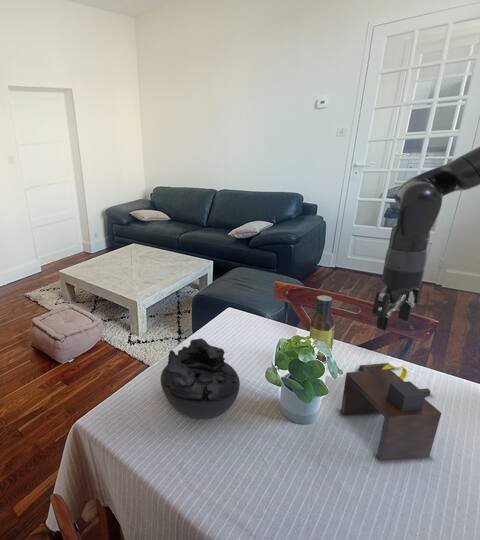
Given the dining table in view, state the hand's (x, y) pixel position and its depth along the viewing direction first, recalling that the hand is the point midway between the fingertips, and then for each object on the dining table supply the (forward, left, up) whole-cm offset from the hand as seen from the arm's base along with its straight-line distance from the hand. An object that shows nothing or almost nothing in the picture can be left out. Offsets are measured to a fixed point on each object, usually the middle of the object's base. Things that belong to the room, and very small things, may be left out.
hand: (392, 324), depth 86 cm
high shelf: (+12, +17, -18) cm, 27 cm away
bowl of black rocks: (+51, +5, -18) cm, 54 cm away
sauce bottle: (+10, -13, -18) cm, 24 cm away
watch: (-2, +1, -18) cm, 18 cm away
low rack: (-2, +1, -18) cm, 18 cm away
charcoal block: (+12, +21, -6) cm, 25 cm away
